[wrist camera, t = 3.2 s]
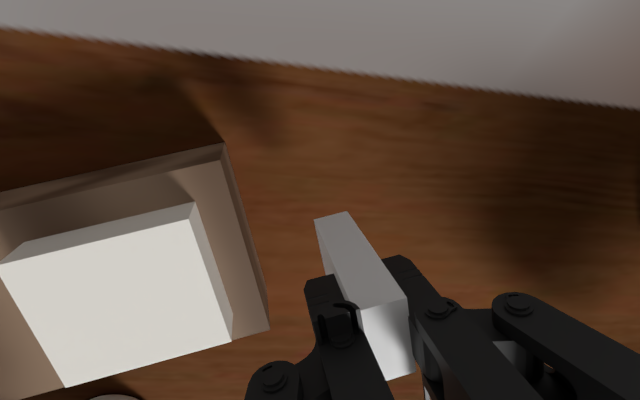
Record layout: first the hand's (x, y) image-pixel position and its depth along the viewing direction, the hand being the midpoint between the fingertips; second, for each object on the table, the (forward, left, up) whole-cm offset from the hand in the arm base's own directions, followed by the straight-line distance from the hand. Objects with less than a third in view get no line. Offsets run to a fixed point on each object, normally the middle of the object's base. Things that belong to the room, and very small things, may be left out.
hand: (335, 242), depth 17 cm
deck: (+10, 0, -5) cm, 12 cm away
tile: (+9, 0, -1) cm, 9 cm away
